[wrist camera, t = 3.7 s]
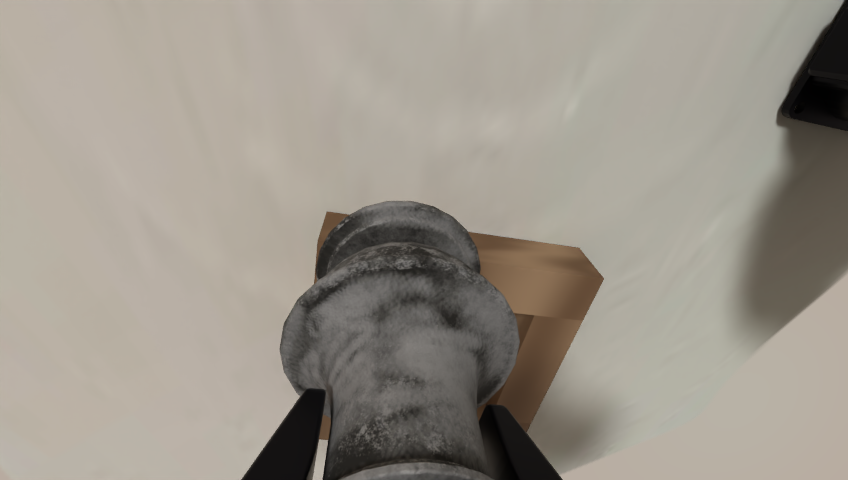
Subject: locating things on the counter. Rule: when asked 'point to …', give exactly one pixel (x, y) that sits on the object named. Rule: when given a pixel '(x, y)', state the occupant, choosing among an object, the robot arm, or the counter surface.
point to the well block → (526, 310)
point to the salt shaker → (401, 345)
